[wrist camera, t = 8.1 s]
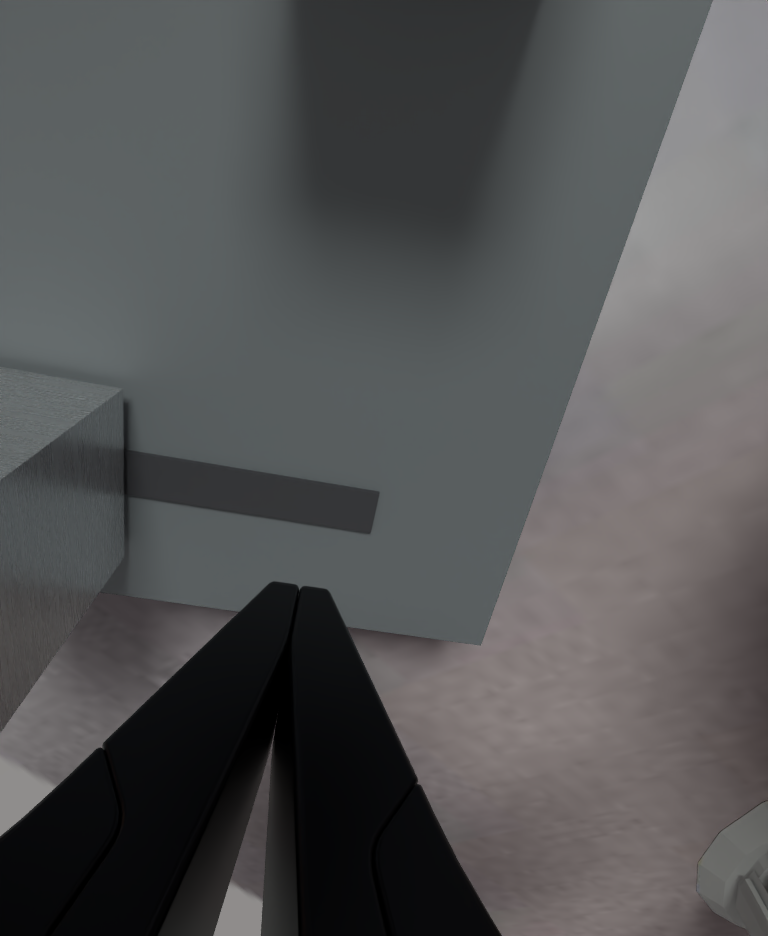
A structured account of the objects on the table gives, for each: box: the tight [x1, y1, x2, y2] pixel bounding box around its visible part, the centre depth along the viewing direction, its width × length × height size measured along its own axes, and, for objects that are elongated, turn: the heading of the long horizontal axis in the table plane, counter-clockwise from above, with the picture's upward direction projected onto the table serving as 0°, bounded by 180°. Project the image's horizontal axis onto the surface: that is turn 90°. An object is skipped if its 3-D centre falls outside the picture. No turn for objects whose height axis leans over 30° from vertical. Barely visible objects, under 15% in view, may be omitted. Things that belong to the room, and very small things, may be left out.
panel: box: [0, 0, 713, 646], centre depth 9 cm, size 18×17×3 cm
